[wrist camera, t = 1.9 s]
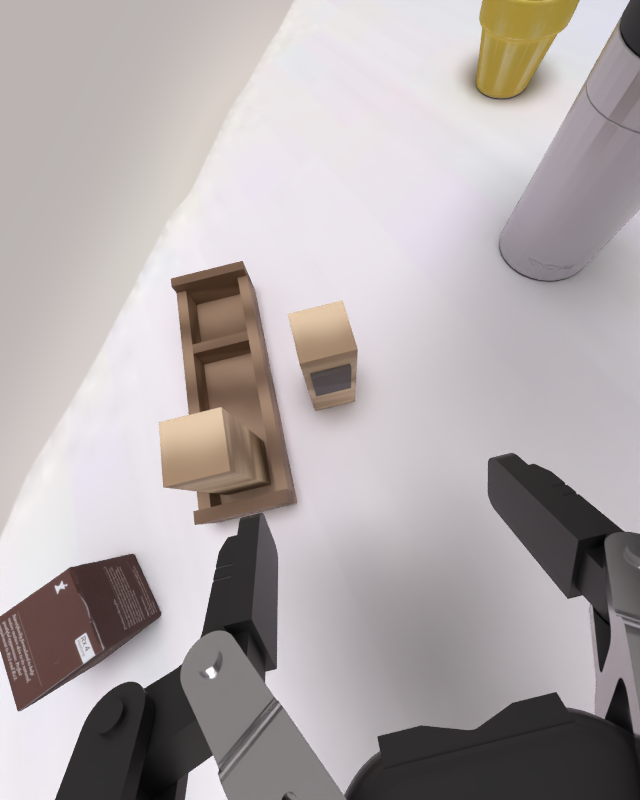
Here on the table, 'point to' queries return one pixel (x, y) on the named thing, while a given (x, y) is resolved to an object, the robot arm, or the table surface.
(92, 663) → the box
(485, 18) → the plant pot
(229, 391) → the rail
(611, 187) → the robot arm
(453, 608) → the table surface
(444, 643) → the table surface
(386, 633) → the table surface
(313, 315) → the block
